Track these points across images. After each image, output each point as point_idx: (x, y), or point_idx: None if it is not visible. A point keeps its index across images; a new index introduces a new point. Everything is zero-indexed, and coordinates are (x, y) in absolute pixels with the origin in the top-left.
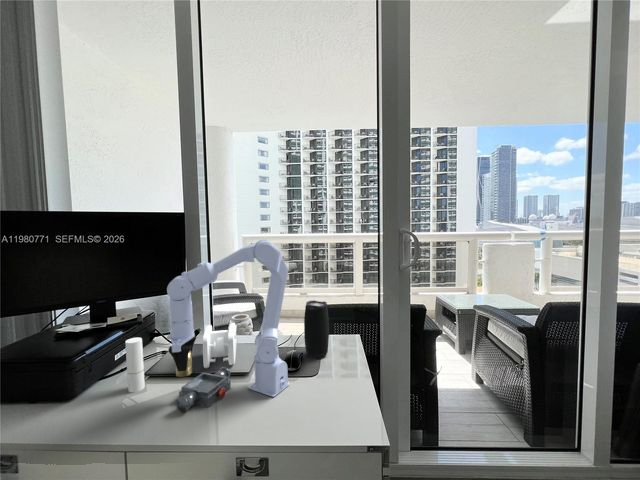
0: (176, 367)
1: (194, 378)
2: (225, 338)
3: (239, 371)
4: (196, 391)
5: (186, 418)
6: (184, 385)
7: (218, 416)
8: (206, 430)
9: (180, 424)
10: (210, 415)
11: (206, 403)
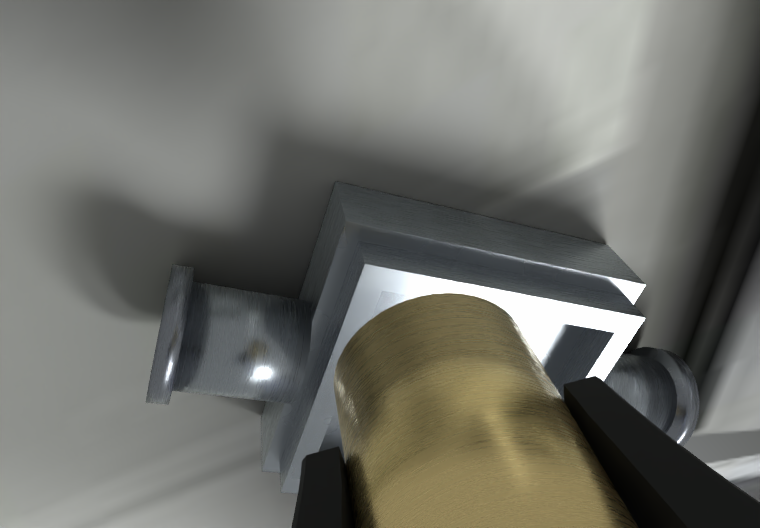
0: (373, 431)
1: (534, 298)
2: None
3: (715, 404)
4: (311, 402)
5: (106, 351)
6: (398, 276)
7: (176, 498)
8: (26, 502)
9: (25, 348)
10: (176, 460)
11: (264, 426)
